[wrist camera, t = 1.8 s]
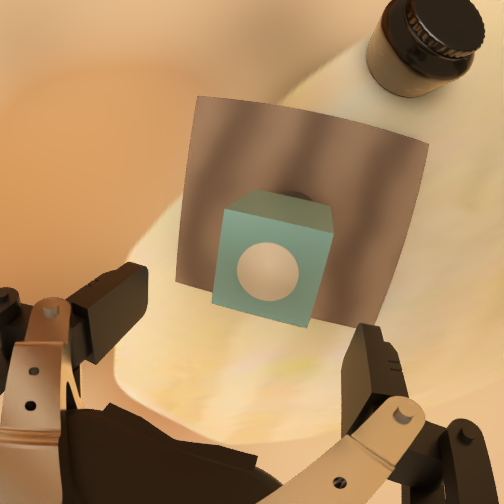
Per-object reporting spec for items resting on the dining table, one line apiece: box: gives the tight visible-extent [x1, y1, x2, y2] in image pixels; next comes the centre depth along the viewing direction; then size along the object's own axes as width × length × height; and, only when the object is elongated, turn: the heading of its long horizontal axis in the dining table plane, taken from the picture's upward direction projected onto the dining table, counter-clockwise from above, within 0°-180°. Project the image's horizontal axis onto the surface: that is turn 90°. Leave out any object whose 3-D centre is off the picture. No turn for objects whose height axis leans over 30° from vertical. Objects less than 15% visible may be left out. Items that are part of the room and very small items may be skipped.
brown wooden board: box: [175, 96, 429, 328], centre depth 24 cm, size 20×18×9 cm
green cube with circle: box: [212, 189, 334, 328], centre depth 18 cm, size 5×5×7 cm
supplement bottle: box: [367, 0, 485, 97], centre depth 16 cm, size 7×7×12 cm
